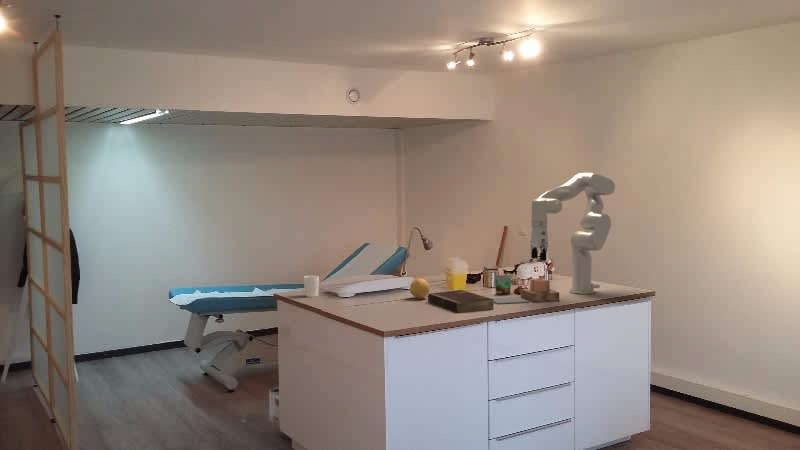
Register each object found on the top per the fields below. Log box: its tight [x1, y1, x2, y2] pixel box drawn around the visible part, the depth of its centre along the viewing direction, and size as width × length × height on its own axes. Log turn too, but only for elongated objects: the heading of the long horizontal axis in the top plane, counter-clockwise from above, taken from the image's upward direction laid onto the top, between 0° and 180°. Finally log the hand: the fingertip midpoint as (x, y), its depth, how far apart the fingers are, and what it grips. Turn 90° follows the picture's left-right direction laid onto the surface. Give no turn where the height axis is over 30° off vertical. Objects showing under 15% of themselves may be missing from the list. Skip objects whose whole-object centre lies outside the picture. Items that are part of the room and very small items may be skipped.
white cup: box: [303, 274, 320, 298], centre depth 368 cm, size 8×8×10 cm
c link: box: [529, 278, 551, 292], centre depth 355 cm, size 7×7×6 cm
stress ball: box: [409, 277, 431, 300], centre depth 359 cm, size 10×10×10 cm
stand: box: [520, 288, 560, 303], centre depth 355 cm, size 14×14×8 cm
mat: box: [489, 296, 530, 305], centre depth 350 cm, size 16×13×1 cm
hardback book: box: [427, 289, 495, 314], centre depth 340 cm, size 29×19×5 cm, turn 25°
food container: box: [494, 272, 513, 296], centre depth 371 cm, size 12×6×10 cm, turn 143°
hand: (538, 259), depth 354 cm, fingers open, 9 cm apart
